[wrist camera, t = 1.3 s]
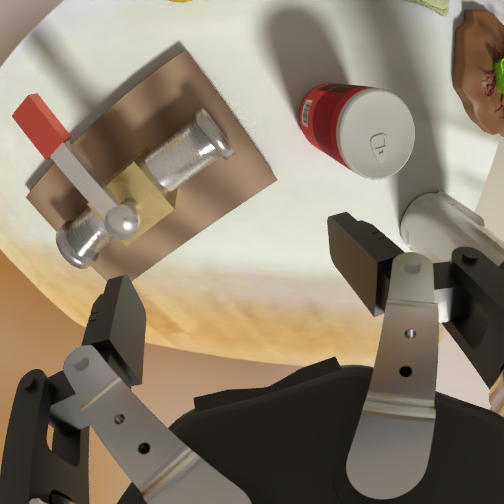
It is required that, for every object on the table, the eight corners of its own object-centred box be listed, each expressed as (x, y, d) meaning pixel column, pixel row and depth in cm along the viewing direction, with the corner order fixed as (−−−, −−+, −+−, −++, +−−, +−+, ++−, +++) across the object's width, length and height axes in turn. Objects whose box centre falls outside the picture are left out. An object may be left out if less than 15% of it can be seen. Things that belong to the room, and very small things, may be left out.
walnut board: (185, 51, 26) (185, 50, 24) (274, 175, 34) (277, 179, 33) (31, 192, 29) (25, 197, 28) (120, 284, 38) (118, 291, 37)
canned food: (318, 162, 34) (363, 197, 25) (283, 104, 30) (321, 115, 21) (369, 130, 33) (426, 154, 24) (339, 71, 29) (395, 74, 20)
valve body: (202, 104, 28) (203, 111, 21) (233, 146, 31) (244, 168, 24) (66, 218, 31) (37, 257, 24) (97, 251, 34) (77, 295, 27)
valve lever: (147, 219, 24) (145, 227, 23) (123, 238, 25) (120, 247, 23) (39, 90, 17) (31, 91, 15) (18, 115, 17) (9, 118, 16)
